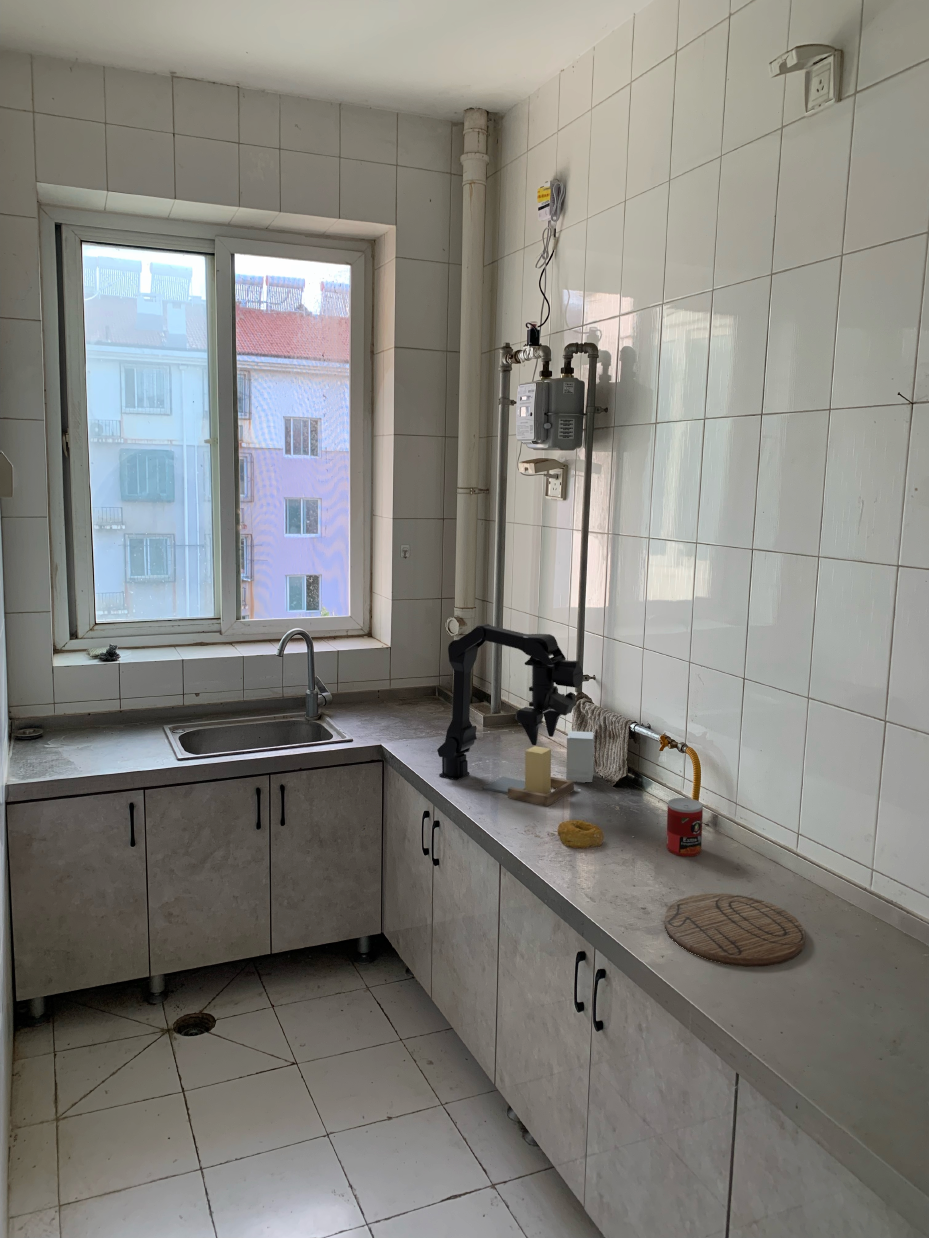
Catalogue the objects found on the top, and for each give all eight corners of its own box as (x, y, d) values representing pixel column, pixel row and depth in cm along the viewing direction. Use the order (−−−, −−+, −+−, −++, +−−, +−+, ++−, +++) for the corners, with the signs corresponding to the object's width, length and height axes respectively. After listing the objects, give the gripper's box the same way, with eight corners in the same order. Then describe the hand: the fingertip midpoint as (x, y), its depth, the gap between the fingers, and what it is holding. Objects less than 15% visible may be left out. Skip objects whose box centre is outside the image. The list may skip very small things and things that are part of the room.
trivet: (722, 981, 156) (723, 970, 155) (638, 917, 178) (638, 907, 178) (834, 950, 165) (835, 940, 165) (741, 892, 188) (741, 884, 188)
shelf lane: (507, 797, 243) (507, 788, 243) (534, 782, 255) (534, 773, 254) (548, 806, 236) (548, 796, 236) (573, 790, 248) (573, 781, 248)
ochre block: (525, 794, 245) (525, 750, 244) (534, 788, 250) (534, 746, 248) (541, 797, 243) (541, 753, 241) (550, 792, 247) (551, 748, 245)
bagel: (593, 853, 207) (594, 833, 206) (549, 844, 213) (549, 824, 212) (610, 839, 215) (611, 819, 215) (568, 830, 221) (568, 811, 220)
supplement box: (592, 783, 254) (593, 739, 252) (565, 781, 255) (566, 737, 253) (594, 774, 261) (594, 731, 259) (567, 773, 262) (568, 730, 260)
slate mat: (483, 788, 250) (483, 786, 250) (502, 778, 258) (502, 776, 258) (515, 795, 244) (515, 793, 244) (534, 785, 252) (534, 782, 252)
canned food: (682, 859, 203) (683, 812, 202) (658, 846, 210) (660, 800, 209) (708, 852, 207) (710, 806, 205) (685, 840, 214) (686, 795, 212)
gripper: (553, 694, 229) (553, 754, 231) (586, 679, 244) (586, 736, 246) (514, 688, 235) (514, 747, 237) (549, 675, 250) (549, 730, 252)
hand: (542, 740), depth 243 cm, fingers open, 9 cm apart
